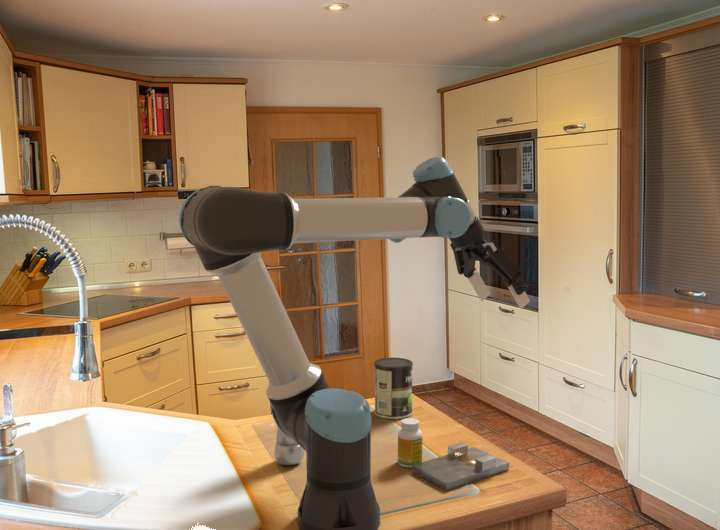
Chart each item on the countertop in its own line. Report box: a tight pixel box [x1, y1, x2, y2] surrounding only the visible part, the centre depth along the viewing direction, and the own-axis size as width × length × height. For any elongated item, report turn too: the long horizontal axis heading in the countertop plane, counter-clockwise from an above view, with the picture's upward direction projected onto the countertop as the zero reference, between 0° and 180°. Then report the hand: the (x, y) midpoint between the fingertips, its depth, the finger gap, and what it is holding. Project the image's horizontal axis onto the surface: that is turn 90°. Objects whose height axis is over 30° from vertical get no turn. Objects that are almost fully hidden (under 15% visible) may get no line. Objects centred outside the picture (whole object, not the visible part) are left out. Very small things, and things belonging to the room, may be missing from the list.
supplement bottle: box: [397, 417, 423, 469], centre depth 151 cm, size 5×5×10 cm
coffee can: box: [373, 357, 413, 420], centre depth 184 cm, size 10×10×14 cm
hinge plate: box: [411, 442, 510, 491], centre depth 147 cm, size 18×11×4 cm, turn 125°
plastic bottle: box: [274, 425, 305, 466], centre depth 151 cm, size 6×7×20 cm
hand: (504, 300), depth 154 cm, fingers open, 13 cm apart
